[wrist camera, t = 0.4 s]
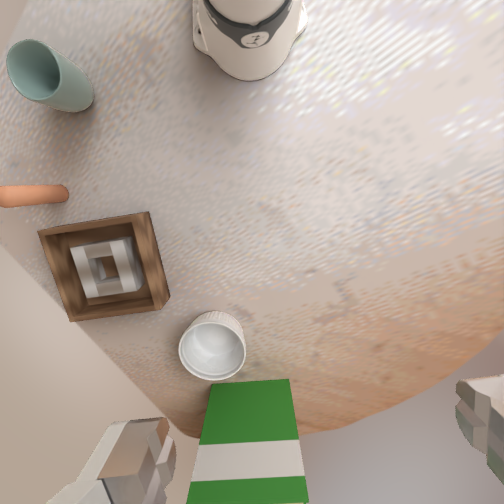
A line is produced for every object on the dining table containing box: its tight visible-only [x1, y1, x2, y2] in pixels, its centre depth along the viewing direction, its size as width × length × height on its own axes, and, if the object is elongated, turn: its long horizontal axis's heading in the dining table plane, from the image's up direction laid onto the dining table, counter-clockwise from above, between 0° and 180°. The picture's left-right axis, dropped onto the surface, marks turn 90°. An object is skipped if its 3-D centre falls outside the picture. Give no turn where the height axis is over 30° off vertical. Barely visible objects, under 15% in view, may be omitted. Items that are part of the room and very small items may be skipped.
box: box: [37, 211, 170, 322], centre depth 53 cm, size 18×18×6 cm
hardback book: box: [186, 379, 309, 504], centre depth 52 cm, size 18×7×24 cm, turn 95°
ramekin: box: [178, 311, 246, 381], centre depth 56 cm, size 13×13×7 cm
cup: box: [6, 39, 94, 112], centre depth 43 cm, size 8×8×10 cm
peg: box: [0, 185, 69, 208], centre depth 46 cm, size 3×3×12 cm
